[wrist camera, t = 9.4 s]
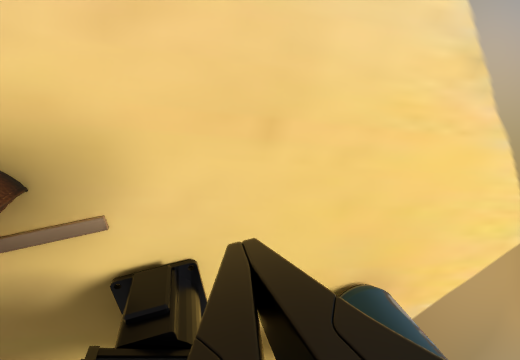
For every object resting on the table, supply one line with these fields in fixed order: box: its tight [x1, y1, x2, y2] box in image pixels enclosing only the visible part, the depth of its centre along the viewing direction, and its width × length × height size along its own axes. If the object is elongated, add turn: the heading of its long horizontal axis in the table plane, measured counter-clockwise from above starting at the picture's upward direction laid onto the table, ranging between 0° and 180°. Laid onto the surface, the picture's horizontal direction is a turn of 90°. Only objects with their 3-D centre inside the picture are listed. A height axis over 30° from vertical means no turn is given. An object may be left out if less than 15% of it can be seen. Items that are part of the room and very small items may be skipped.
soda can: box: [340, 285, 448, 360], centre depth 24 cm, size 7×7×12 cm
